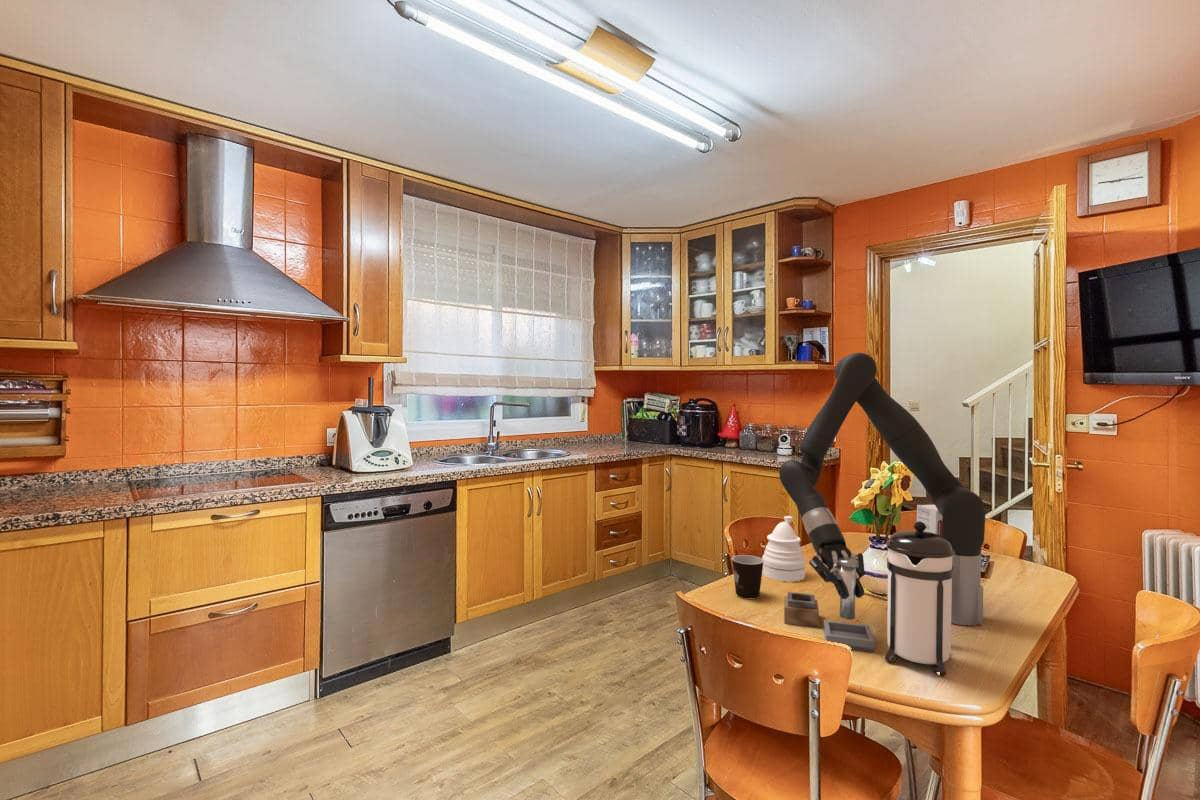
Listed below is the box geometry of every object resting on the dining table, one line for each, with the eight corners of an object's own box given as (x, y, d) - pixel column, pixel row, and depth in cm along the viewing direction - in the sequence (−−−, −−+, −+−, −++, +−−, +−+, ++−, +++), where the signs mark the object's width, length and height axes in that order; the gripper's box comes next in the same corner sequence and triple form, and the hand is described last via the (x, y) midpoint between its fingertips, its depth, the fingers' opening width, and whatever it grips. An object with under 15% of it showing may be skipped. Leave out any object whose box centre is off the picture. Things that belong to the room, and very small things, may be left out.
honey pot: (781, 566, 189) (782, 511, 189) (814, 577, 178) (814, 519, 178) (753, 572, 183) (753, 516, 182) (785, 584, 172) (786, 524, 171)
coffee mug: (764, 601, 159) (764, 565, 158) (732, 599, 160) (732, 563, 160) (761, 586, 170) (761, 553, 170) (731, 584, 172) (731, 551, 171)
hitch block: (816, 614, 149) (817, 593, 149) (818, 627, 142) (819, 605, 142) (784, 611, 152) (784, 590, 152) (784, 623, 144) (784, 601, 144)
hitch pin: (856, 614, 135) (857, 558, 135) (858, 621, 131) (859, 563, 131) (836, 612, 137) (837, 556, 136) (838, 619, 133) (839, 562, 132)
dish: (868, 635, 137) (868, 625, 137) (874, 652, 128) (874, 641, 128) (823, 630, 140) (823, 620, 140) (826, 646, 131) (826, 635, 131)
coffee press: (980, 675, 118) (983, 529, 117) (905, 678, 117) (908, 531, 116) (926, 638, 136) (928, 510, 135) (860, 640, 134) (862, 512, 133)
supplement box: (934, 559, 197) (935, 510, 196) (914, 551, 206) (915, 504, 205) (959, 557, 199) (959, 508, 198) (938, 550, 208) (938, 503, 207)
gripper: (803, 523, 139) (833, 591, 128) (855, 520, 142) (889, 587, 131) (791, 539, 145) (818, 606, 133) (841, 536, 148) (872, 601, 136)
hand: (853, 596), depth 132 cm, fingers closed on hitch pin, 3 cm apart
